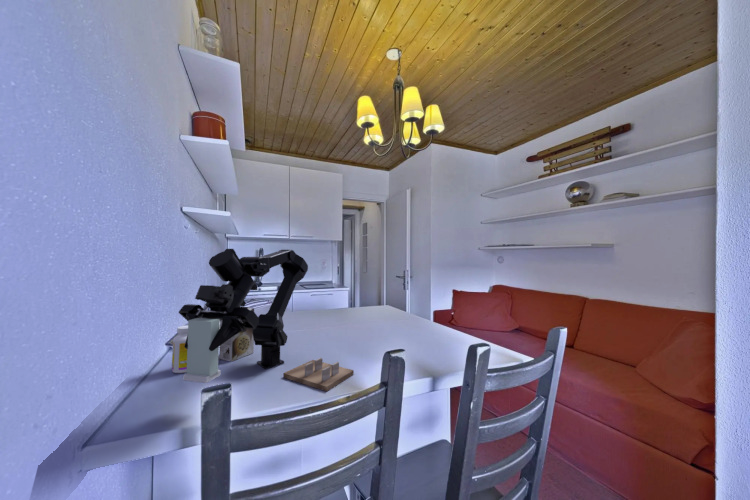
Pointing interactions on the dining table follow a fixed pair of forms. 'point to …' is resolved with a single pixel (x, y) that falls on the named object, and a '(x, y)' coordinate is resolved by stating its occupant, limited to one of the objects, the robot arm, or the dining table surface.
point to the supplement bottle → (180, 351)
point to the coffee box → (237, 345)
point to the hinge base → (319, 374)
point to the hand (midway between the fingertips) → (198, 349)
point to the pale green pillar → (202, 350)
